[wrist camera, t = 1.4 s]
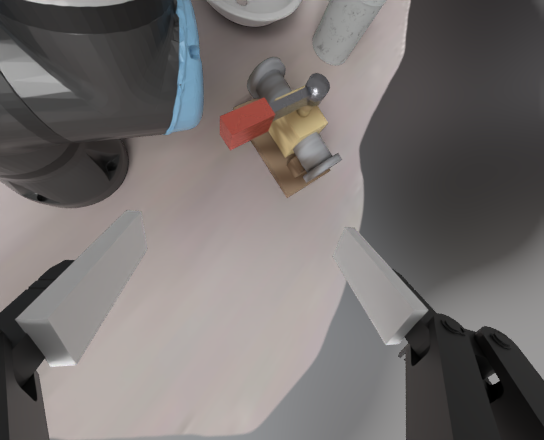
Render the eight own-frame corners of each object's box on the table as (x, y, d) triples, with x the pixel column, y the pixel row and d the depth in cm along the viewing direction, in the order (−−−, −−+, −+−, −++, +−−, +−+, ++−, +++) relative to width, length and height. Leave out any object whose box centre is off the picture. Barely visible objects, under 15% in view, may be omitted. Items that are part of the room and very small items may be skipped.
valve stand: (232, 112, 39) (239, 50, 27) (277, 93, 42) (301, 29, 30) (287, 198, 40) (317, 176, 27) (326, 173, 43) (370, 143, 31)
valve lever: (218, 132, 25) (218, 114, 22) (310, 90, 29) (322, 69, 26) (231, 152, 25) (233, 137, 22) (320, 107, 30) (334, 89, 26)
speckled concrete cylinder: (308, 27, 47) (338, -46, 35) (342, 30, 49) (381, -38, 37) (317, 65, 46) (351, 3, 34) (352, 65, 49) (394, 8, 37)
